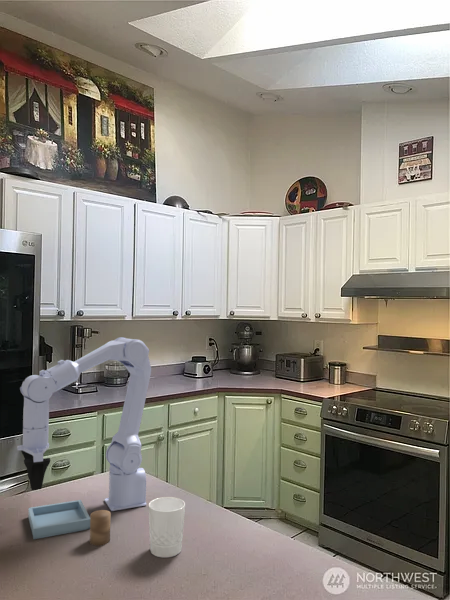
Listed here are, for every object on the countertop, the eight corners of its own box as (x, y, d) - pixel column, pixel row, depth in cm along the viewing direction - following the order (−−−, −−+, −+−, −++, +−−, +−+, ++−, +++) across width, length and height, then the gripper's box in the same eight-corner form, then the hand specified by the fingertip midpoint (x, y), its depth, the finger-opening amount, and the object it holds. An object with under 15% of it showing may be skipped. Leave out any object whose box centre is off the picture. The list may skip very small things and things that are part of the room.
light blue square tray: (80, 508, 126) (80, 499, 126) (90, 528, 115) (90, 519, 115) (28, 517, 121) (28, 507, 121) (33, 539, 109) (33, 528, 109)
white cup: (189, 545, 108) (190, 500, 109) (174, 562, 101) (175, 513, 101) (157, 538, 111) (158, 494, 111) (140, 555, 103) (142, 508, 104)
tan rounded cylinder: (107, 534, 112) (108, 508, 112) (112, 543, 108) (112, 516, 109) (87, 538, 110) (88, 511, 110) (92, 547, 106) (92, 519, 107)
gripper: (15, 421, 121) (14, 476, 121) (19, 435, 108) (18, 497, 108) (46, 418, 124) (44, 472, 124) (53, 432, 111) (52, 492, 111)
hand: (34, 483), depth 116 cm, fingers open, 7 cm apart
